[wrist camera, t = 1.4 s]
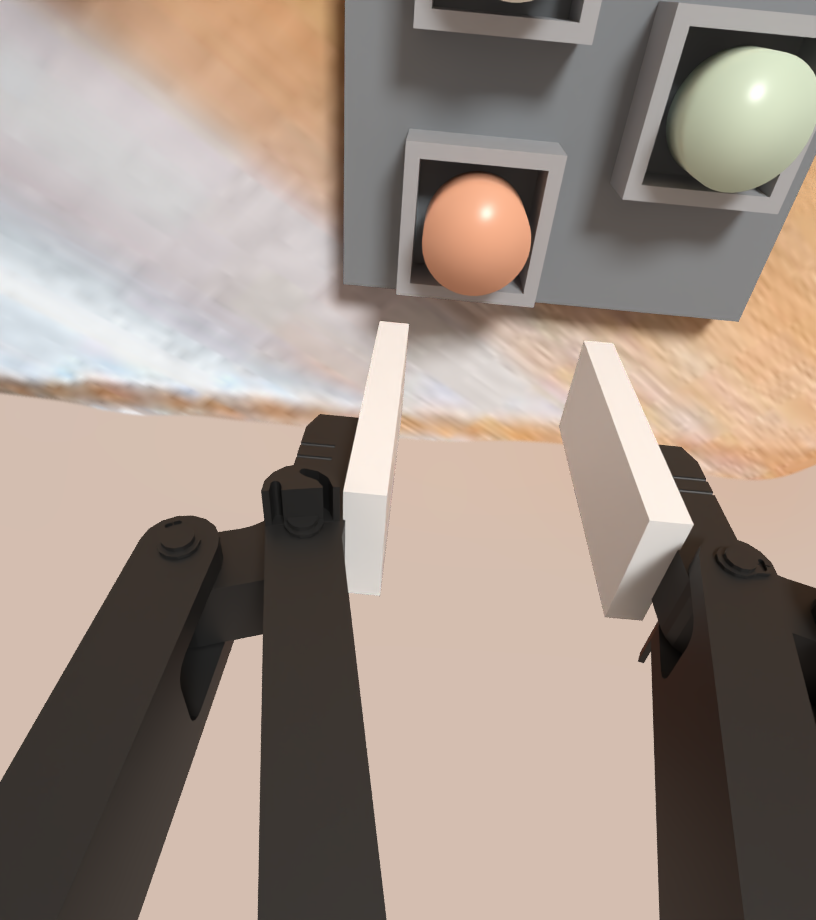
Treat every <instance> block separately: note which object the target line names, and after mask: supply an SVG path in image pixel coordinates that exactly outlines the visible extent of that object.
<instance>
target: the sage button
mask: <svg viewBox="0 0 816 920" xmlns="http://www.w3.org/2000/svg"><path fill="white" fill-rule="evenodd" d="M815 125H816V76H815V74H814V72H813V71H812V69H811V68H810V67H809V65H808V64H807V63H805V62H804V61H803V60H802V59H800V58H799V57H797V56H795V55H792V54H790V53H786V52H781V51H777V50H772V49H767V48H762V47H758V46H752V45H741V46H734V47H731V48H727V49H724V50H722V51H720V52H717V53H716V54H714V55H712V56H710V57H709V58H707V59H706V60H704V61H703V62H702V63H701V64H699V65H698V66H697V67H696V68H695V69H694V70H693V71H692V72H691V73H690V74H689V75H688V76H687V78H686V79H685V80H684V82H683V83H682V84H681V86H680V87H679V89H678V91H677V92H676V94H675V96H674V98H673V101H672V103H671V106H670V109H669V112H668V116H667V123H666V139H667V144H668V148H669V151H670V153H671V155H672V157H673V158H674V160H675V161H676V162H677V163H678V165H679V166H681V167H682V168H683V169H684V170H685V171H687V172H688V173H689V174H690V175H692V176H693V177H694V178H695V179H697V180H698V181H699V182H700V183H702V184H703V185H704V186H706V187H708V188H710V189H712V190H715V191H719V192H725V193H735V192H742V191H747V190H750V189H753V188H756V187H758V186H761V185H763V184H765V183H767V182H768V181H770V180H772V179H773V178H775V177H776V176H777V175H779V174H780V173H781V172H783V171H784V170H785V169H786V168H787V167H788V166H789V165H790V164H791V163H792V162H793V161H794V160H795V159H796V158H797V156H798V155H799V154H800V153H801V151H802V150H803V148H804V147H805V145H806V144H807V142H808V140H809V138H810V136H811V134H812V133H813V130H814V127H815Z"/></svg>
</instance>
